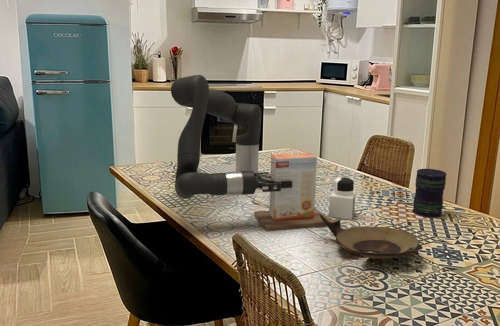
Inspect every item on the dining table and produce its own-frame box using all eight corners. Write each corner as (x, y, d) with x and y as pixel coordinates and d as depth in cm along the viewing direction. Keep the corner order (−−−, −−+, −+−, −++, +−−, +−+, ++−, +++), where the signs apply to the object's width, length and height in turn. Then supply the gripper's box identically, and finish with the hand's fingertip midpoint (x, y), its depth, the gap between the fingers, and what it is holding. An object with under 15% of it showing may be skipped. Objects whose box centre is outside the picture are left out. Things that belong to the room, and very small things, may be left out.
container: (354, 213, 175) (357, 177, 172) (351, 220, 168) (354, 183, 165) (332, 210, 178) (334, 174, 175) (328, 217, 171) (330, 180, 167)
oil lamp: (378, 280, 126) (380, 252, 125) (306, 239, 151) (308, 215, 150) (437, 262, 138) (441, 236, 136) (362, 227, 163) (363, 204, 161)
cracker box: (307, 212, 170) (311, 152, 165) (314, 218, 165) (318, 156, 159) (268, 214, 167) (270, 153, 161) (273, 221, 161) (276, 158, 156)
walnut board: (254, 216, 170) (254, 211, 169) (314, 211, 175) (314, 207, 175) (266, 230, 157) (266, 226, 156) (331, 225, 162) (331, 221, 162)
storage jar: (420, 206, 184) (425, 167, 180) (446, 213, 177) (451, 172, 174) (407, 212, 177) (411, 171, 174) (433, 219, 170) (438, 177, 167)
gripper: (244, 177, 150) (295, 175, 155) (234, 166, 164) (281, 164, 168) (244, 201, 152) (294, 198, 156) (233, 188, 166) (280, 185, 170)
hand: (287, 180), depth 162 cm, fingers open, 8 cm apart
